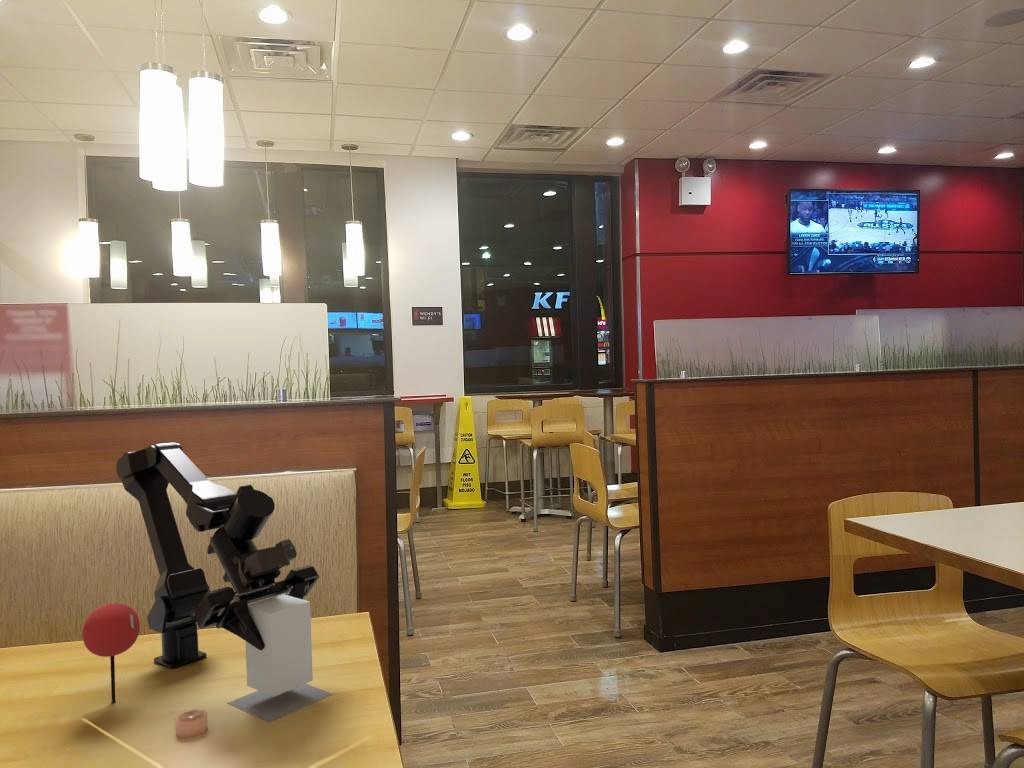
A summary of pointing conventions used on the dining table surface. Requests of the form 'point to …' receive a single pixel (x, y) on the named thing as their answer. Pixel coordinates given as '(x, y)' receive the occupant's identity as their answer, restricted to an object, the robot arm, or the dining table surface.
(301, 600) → the cover
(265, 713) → the mat
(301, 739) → the dining table surface
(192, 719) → the bowl
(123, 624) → the lollipop
